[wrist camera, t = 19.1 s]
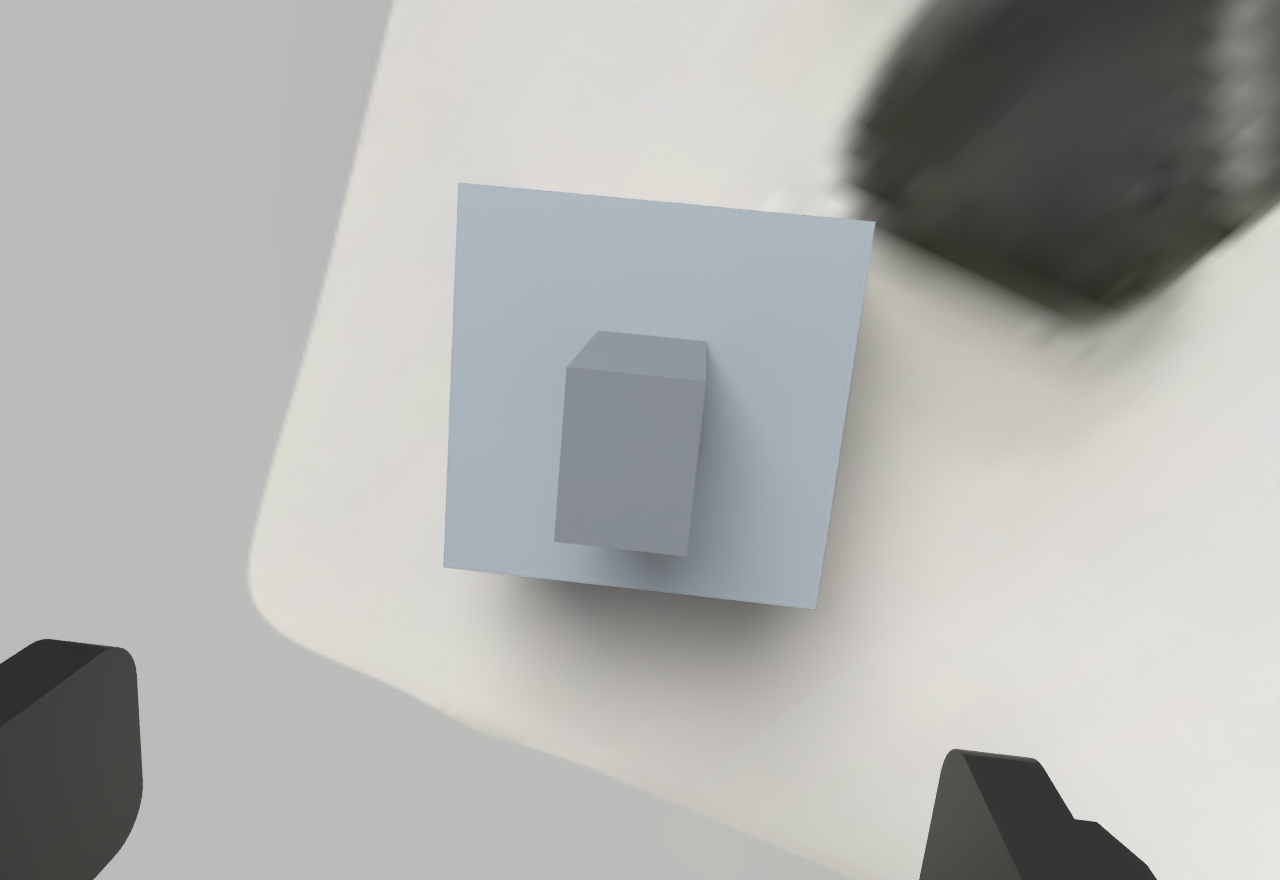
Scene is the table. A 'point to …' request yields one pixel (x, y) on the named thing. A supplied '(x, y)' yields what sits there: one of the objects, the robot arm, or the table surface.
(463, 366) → the square plate with knob
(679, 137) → the table surface
